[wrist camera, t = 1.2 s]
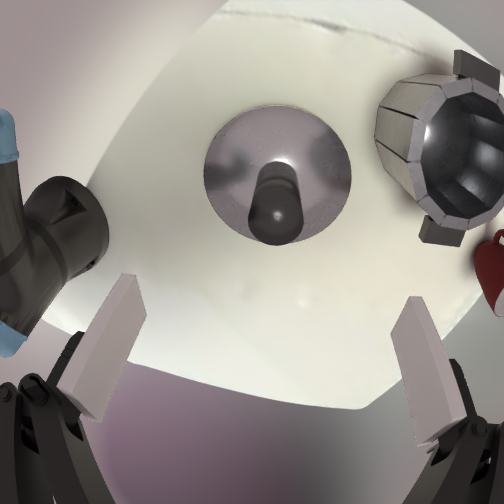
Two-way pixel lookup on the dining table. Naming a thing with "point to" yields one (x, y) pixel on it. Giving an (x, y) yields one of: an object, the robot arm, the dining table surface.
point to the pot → (447, 146)
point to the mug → (491, 272)
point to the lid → (277, 174)
